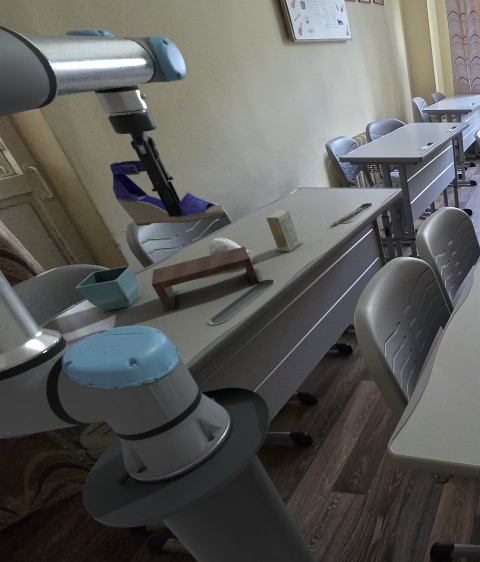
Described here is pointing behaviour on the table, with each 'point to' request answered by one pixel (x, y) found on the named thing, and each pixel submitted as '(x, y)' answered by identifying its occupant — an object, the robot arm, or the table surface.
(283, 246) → the cosmetic box
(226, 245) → the white rounded piece
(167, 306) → the shoe shelf
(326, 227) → the table surface
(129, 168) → the sandal
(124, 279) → the flower pot
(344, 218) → the pencil
